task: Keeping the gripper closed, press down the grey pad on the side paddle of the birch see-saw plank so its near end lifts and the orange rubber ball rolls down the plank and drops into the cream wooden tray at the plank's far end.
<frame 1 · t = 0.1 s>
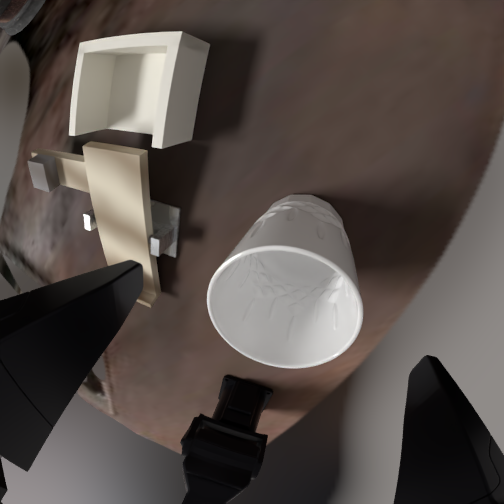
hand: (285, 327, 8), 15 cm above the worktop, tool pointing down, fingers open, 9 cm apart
tray: (149, 87, 19), on the worktop
white cup: (302, 233, 22), on the worktop
fulcrum: (137, 219, 25), on the worktop
tankard: (20, 0, 14), on the worktop
lever: (85, 222, 23), point 3 cm above the worktop, hinge at -12.0°, touching ball
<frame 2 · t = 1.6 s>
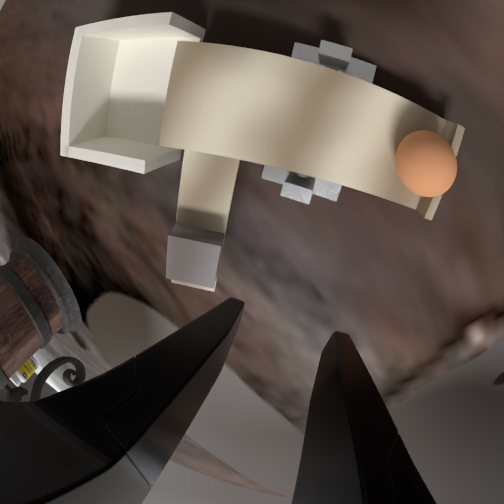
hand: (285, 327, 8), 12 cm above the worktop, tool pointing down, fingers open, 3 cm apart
tray: (143, 89, 17), on the worktop
ball: (426, 163, 12), point 3 cm above the worktop, tilted 13°, touching lever
fulcrum: (318, 120, 15), on the worktop
tankard: (55, 305, 34), on the worktop
supplement bottle: (32, 358, 54), on the worktop
lever: (297, 199, 15), point 3 cm above the worktop, hinge at -12.0°, touching ball
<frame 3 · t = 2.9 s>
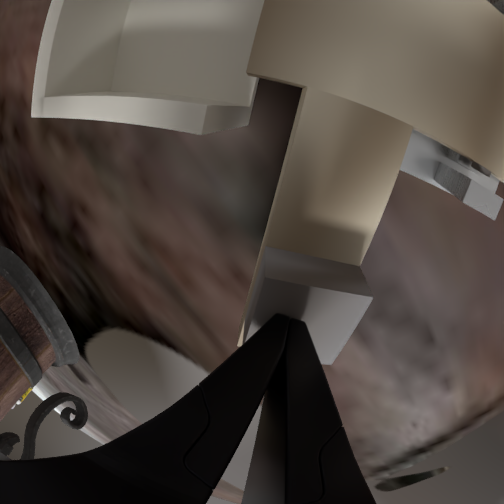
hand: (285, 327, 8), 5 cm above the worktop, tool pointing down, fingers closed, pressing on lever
tray: (183, 13, 8), on the worktop
fulcrum: (473, 92, 7), on the worktop
tankard: (45, 331, 26), on the worktop
supplement bottle: (27, 377, 46), on the worktop
lever: (480, 211, 7), point 3 cm above the worktop, hinge at -12.0°, touching ball, gripper
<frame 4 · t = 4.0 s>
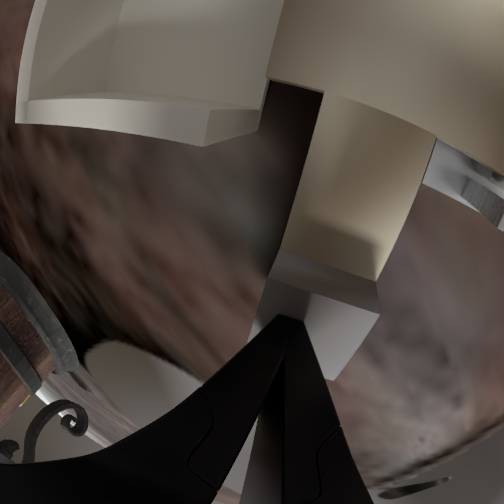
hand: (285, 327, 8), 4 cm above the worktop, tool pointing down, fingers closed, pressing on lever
tray: (184, 4, 7), on the worktop
fulcrum: (503, 100, 6), on the worktop
tankard: (45, 338, 25), on the worktop
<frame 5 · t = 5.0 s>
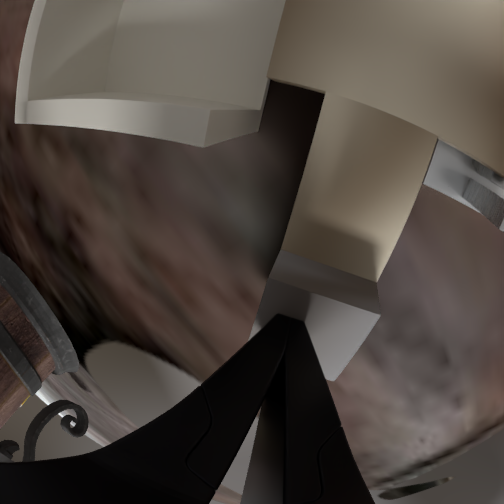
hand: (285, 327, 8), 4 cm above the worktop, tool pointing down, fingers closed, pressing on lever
tray: (185, 4, 7), on the worktop
tankard: (45, 338, 25), on the worktop
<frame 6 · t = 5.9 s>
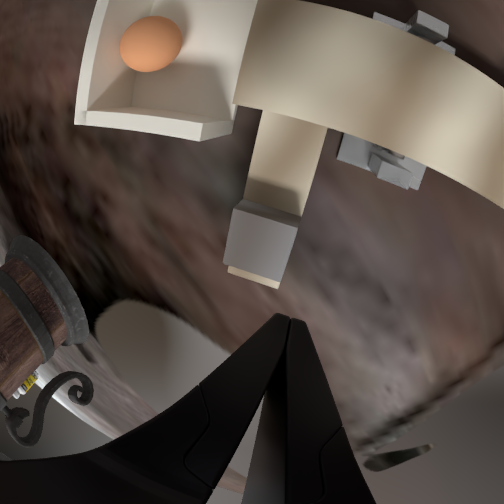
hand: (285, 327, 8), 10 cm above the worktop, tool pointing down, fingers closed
tray: (185, 49, 13), on the worktop
ball: (150, 43, 11), point 2 cm above the worktop, tilted 65°, touching tray
fulcrum: (401, 98, 12), on the worktop
tankard: (57, 313, 30), on the worktop
supplement bottle: (32, 368, 50), on the worktop
lever: (391, 182, 11), point 3 cm above the worktop, hinge at 1.1°
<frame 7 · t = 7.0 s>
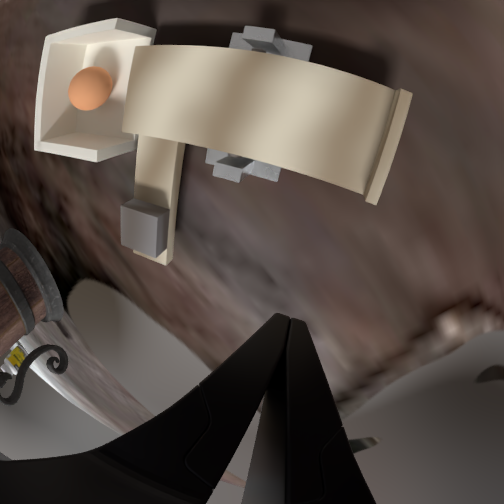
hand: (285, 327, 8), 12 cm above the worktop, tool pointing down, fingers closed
tray: (106, 87, 17), on the worktop
ball: (90, 88, 15), point 2 cm above the worktop, tilted 110°, touching tray
fulcrum: (256, 103, 16), on the worktop
tankard: (40, 294, 35), on the worktop
supplement bottle: (24, 351, 55), on the worktop
lever: (226, 178, 15), point 3 cm above the worktop, hinge at 1.1°
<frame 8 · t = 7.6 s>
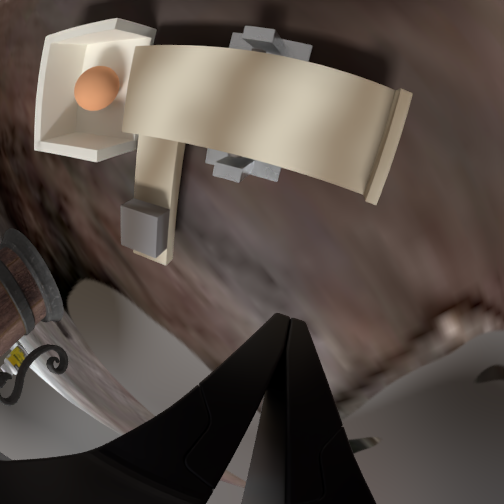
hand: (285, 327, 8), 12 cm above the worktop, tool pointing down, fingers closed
tray: (106, 87, 17), on the worktop
ball: (96, 88, 15), point 2 cm above the worktop, tilted 134°, touching tray
fulcrum: (256, 103, 16), on the worktop
tankard: (40, 294, 35), on the worktop
supplement bottle: (24, 351, 55), on the worktop
lever: (226, 178, 15), point 3 cm above the worktop, hinge at 1.1°
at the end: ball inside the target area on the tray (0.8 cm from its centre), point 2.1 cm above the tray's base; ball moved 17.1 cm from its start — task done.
